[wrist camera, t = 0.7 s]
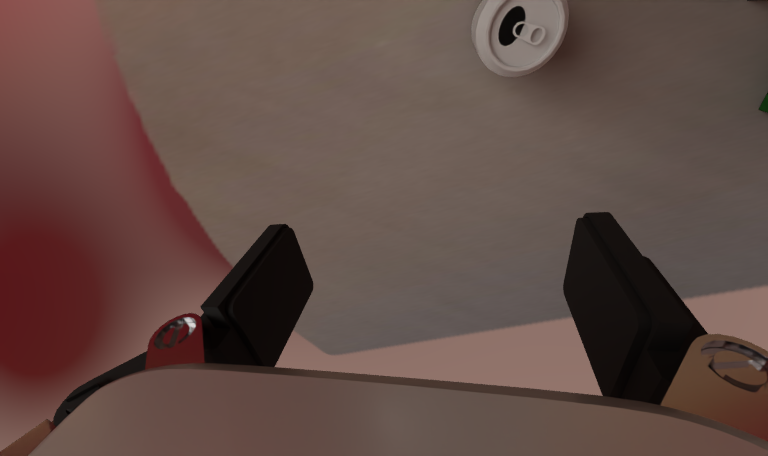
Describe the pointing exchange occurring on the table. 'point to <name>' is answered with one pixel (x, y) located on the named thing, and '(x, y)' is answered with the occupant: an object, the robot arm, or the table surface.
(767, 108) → the milk carton
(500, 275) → the table surface
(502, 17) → the can
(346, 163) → the table surface
